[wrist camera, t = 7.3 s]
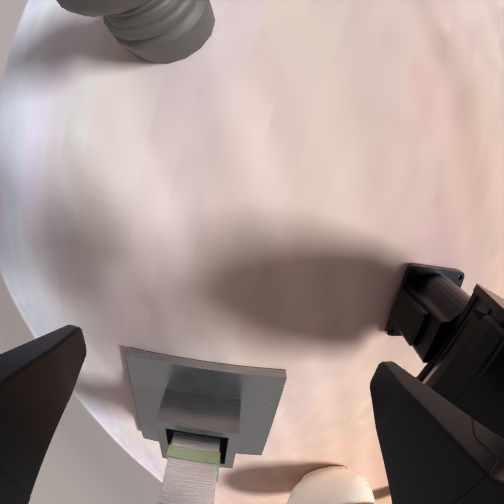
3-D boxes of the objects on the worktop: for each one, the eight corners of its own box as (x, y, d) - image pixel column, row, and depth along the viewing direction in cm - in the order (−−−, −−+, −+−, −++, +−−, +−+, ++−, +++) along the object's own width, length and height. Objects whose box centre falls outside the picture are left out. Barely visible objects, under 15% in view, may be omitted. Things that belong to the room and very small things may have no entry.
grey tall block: (222, 437, 21) (212, 545, 11) (219, 460, 23) (210, 552, 13) (172, 430, 21) (149, 533, 11) (175, 453, 22) (157, 543, 13)
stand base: (285, 369, 24) (290, 412, 19) (261, 448, 29) (261, 482, 24) (129, 347, 24) (109, 384, 19) (145, 431, 28) (135, 463, 24)
